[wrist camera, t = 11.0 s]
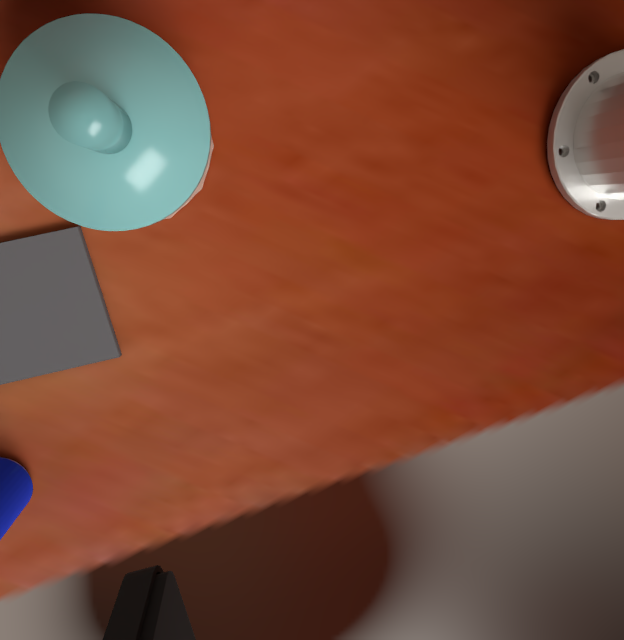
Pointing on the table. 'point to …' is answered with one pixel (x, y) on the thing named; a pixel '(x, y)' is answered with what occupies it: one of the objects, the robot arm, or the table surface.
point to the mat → (51, 307)
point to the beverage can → (12, 492)
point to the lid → (103, 122)
